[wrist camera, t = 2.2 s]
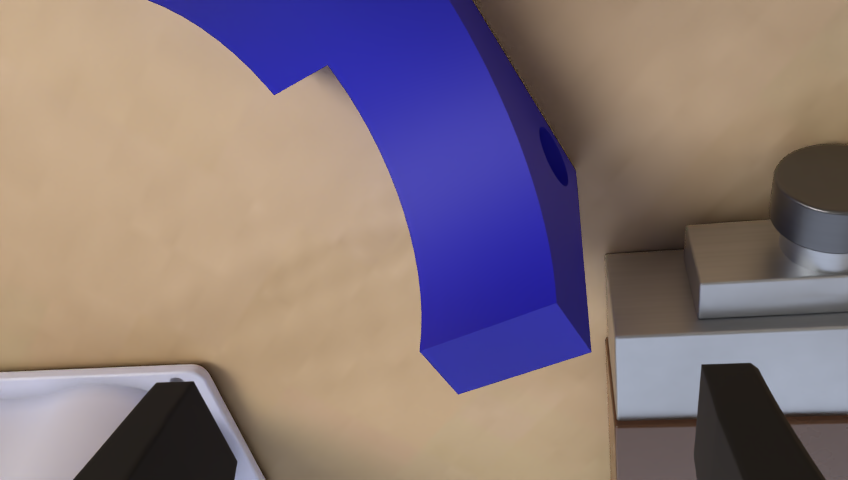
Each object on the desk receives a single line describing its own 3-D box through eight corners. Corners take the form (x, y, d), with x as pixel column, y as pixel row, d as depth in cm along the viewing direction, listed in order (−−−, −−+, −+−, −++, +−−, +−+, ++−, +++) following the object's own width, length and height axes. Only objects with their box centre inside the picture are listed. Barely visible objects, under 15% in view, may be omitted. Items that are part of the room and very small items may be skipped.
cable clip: (99, -178, 15) (-78, -72, 11) (273, -328, 14) (147, -275, 9) (425, 235, 22) (399, 413, 17) (575, 171, 20) (591, 351, 15)
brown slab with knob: (613, 538, 31) (621, 624, 28) (597, 156, 19) (608, 243, 17) (896, 539, 29) (930, 631, 26) (1063, 115, 17) (1153, 206, 15)
